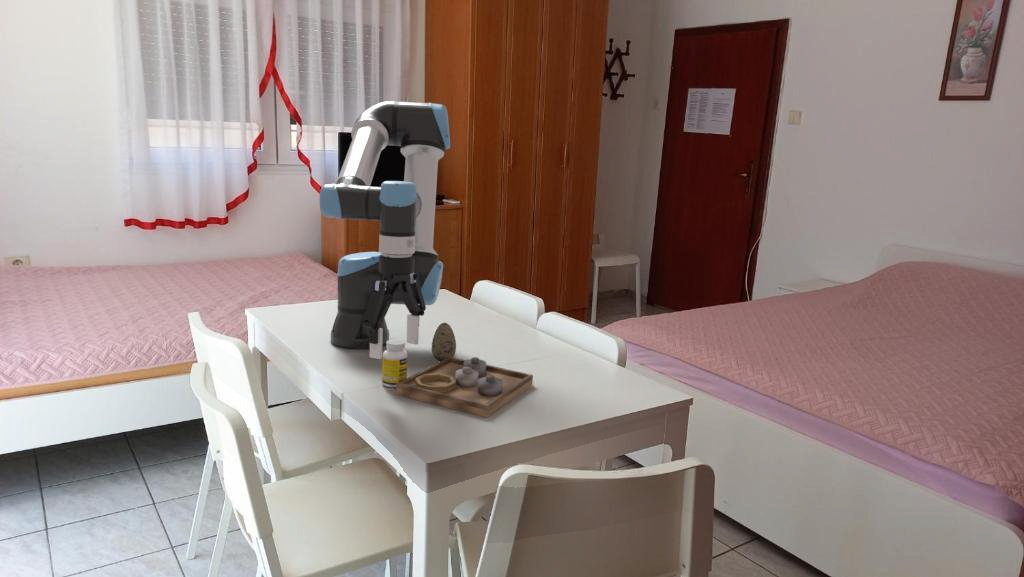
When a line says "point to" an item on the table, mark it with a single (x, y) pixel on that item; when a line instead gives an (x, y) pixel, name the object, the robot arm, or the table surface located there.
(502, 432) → the table surface
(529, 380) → the carrier
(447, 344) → the decorative egg
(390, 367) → the supplement bottle
